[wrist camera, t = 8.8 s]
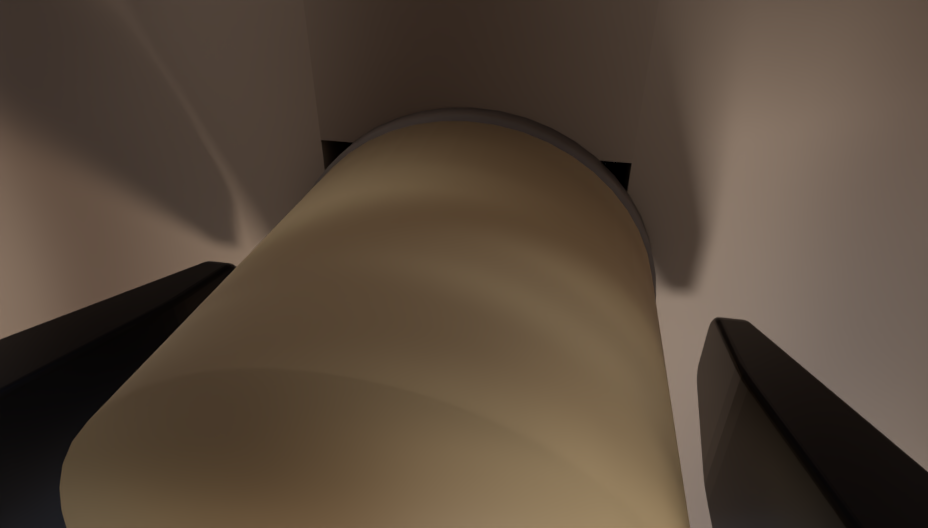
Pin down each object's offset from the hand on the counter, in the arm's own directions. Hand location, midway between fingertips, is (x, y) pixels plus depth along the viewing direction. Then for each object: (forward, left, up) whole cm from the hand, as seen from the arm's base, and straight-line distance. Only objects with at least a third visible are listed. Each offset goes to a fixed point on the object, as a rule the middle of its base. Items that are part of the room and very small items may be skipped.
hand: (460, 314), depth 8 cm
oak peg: (0, 0, -3) cm, 3 cm away
